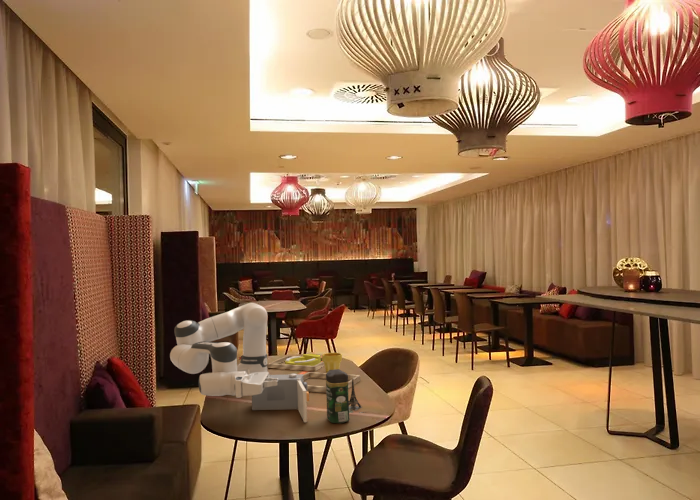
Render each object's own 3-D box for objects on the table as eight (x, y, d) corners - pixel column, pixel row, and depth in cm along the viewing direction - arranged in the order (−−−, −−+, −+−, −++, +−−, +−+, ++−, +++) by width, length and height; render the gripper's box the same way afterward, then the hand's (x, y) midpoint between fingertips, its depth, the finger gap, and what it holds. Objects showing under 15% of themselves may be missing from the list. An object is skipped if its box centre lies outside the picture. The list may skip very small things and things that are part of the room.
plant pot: (327, 370, 286) (327, 352, 286) (345, 371, 282) (344, 352, 282) (319, 374, 276) (318, 355, 276) (337, 375, 273) (337, 356, 273)
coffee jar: (324, 417, 203) (323, 368, 203) (344, 415, 205) (343, 367, 205) (330, 425, 194) (329, 374, 194) (351, 422, 196) (350, 372, 196)
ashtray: (325, 364, 303) (325, 355, 303) (299, 371, 287) (299, 362, 287) (305, 361, 313) (305, 352, 313) (278, 367, 297) (278, 358, 297)
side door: (309, 422, 197) (309, 389, 197) (303, 422, 196) (302, 389, 196) (303, 408, 215) (302, 377, 215) (297, 408, 215) (296, 378, 215)
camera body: (252, 410, 215) (251, 377, 215) (256, 403, 224) (255, 372, 224) (306, 408, 215) (305, 376, 215) (308, 402, 224) (307, 371, 224)
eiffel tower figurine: (337, 405, 222) (336, 372, 222) (361, 403, 223) (360, 371, 223) (342, 415, 207) (341, 381, 207) (368, 413, 208) (367, 379, 208)
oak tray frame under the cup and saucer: (284, 389, 247) (284, 384, 247) (308, 377, 271) (308, 372, 271) (340, 393, 237) (340, 388, 237) (360, 380, 261) (360, 375, 261)
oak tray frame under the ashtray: (266, 368, 294) (266, 363, 294) (287, 359, 317) (287, 355, 317) (314, 371, 284) (314, 366, 284) (332, 362, 307) (332, 357, 307)
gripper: (246, 384, 212) (281, 383, 212) (235, 399, 192) (274, 397, 192) (246, 368, 212) (281, 367, 212) (235, 381, 192) (273, 380, 192)
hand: (277, 381), depth 202 cm, fingers closed
